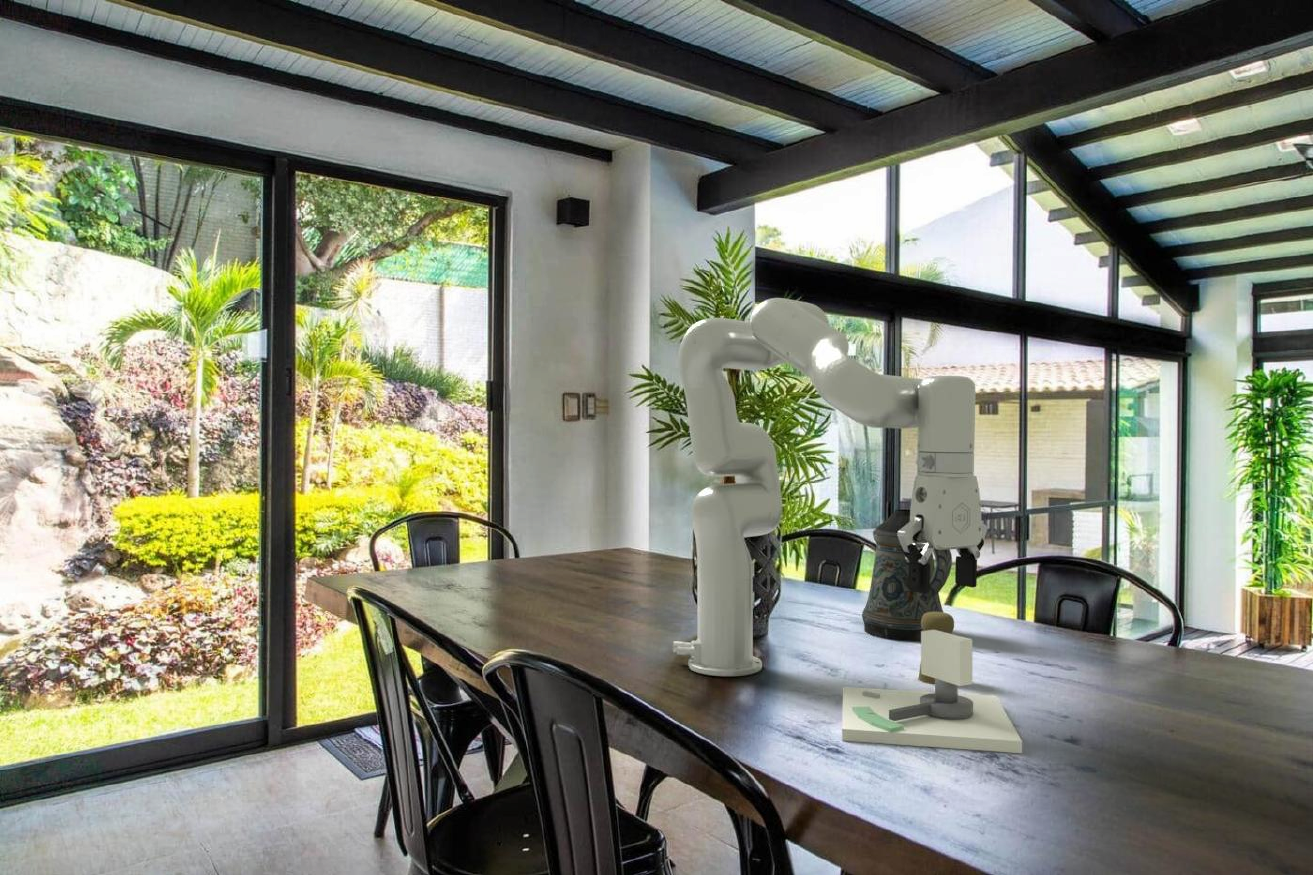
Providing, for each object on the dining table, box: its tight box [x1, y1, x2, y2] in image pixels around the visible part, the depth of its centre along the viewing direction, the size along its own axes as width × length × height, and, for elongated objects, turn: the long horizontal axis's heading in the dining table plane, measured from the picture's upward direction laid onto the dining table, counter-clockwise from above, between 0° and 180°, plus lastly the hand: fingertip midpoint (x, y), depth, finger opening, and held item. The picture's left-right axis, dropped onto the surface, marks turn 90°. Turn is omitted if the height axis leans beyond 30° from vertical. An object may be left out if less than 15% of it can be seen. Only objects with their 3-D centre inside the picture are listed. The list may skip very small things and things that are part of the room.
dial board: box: [841, 686, 1023, 754], centre depth 121 cm, size 22×20×2 cm
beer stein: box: [861, 509, 953, 642], centre depth 178 cm, size 16×19×25 cm
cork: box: [918, 611, 955, 685], centre depth 143 cm, size 6×6×11 cm
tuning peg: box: [889, 630, 973, 721], centre depth 119 cm, size 14×7×10 cm, turn 118°
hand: (942, 588), depth 121 cm, fingers open, 9 cm apart
